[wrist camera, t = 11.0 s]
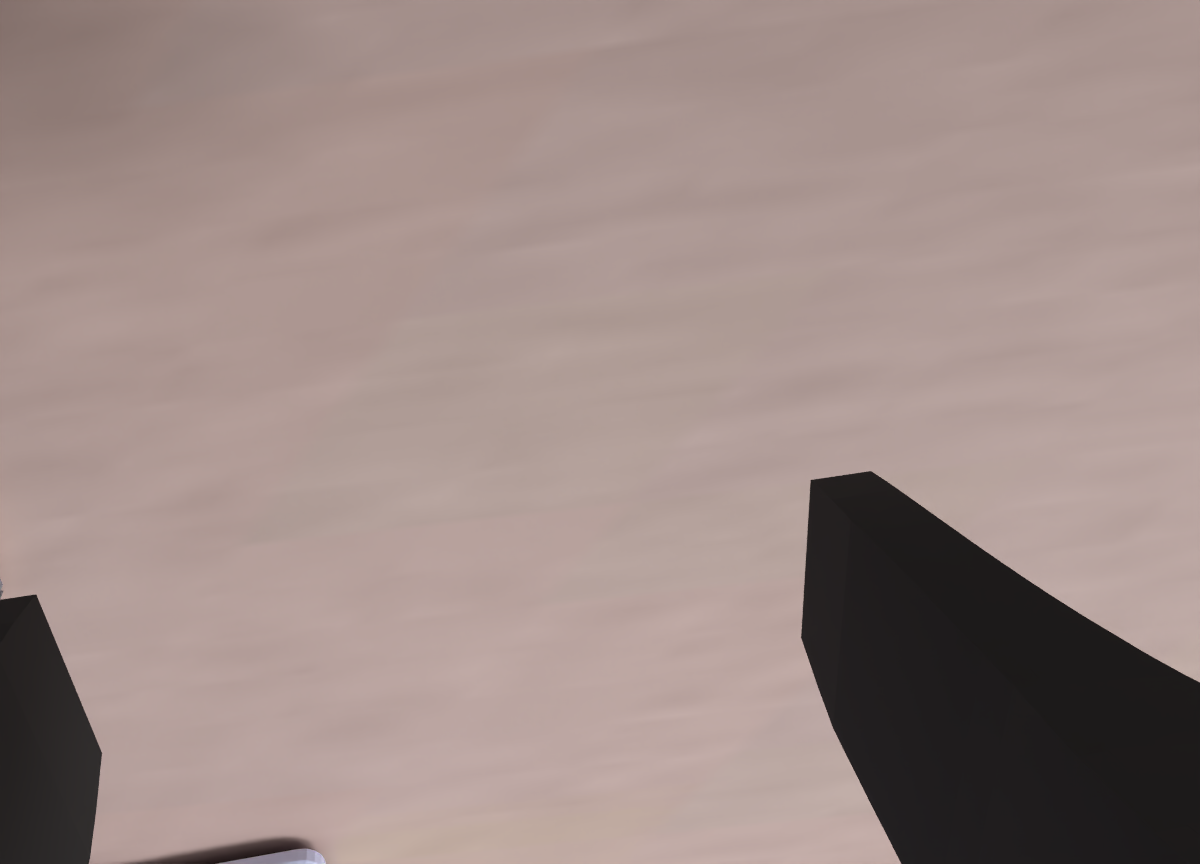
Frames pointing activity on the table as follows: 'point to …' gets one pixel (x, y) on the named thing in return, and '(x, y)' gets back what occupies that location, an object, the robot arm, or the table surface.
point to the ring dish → (0, 588)
